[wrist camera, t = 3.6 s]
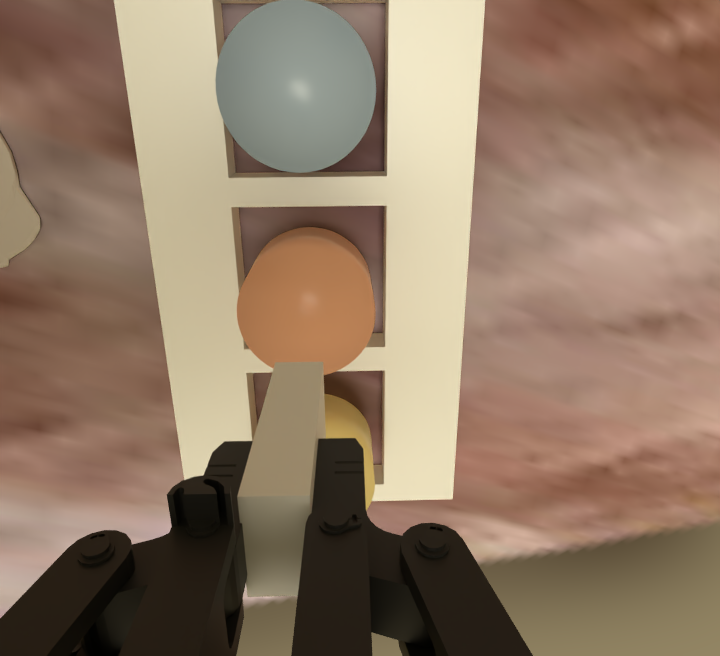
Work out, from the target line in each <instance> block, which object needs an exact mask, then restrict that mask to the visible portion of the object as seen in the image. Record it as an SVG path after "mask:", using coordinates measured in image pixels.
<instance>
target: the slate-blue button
mask: <svg viewBox="0 0 720 656" xmlns="http://www.w3.org/2000/svg"><path fill="white" fill-rule="evenodd" d="M215 82H216V96H217V102H218V106H219V109H220V113H221V116H222V118H223V120H224V123H225V125H226V127H227V128H228V130H229V132H230V134H231V135H232V136H233V138H234V139H235V141H236V142H237V143H238V144H239V145H240V146H241V147H242V148H243V150H245V151H246V152H247V153H248V154H249V155H250V156H252V157H253V158H255V159H256V160H258V161H259V162H261V163H263V164H265V165H267V166H269V167H271V168H274V169H277V170H281V171H286V172H294V173H304V172H313V171H317V170H321V169H324V168H326V167H329V166H331V165H333V164H335V163H337V162H338V161H340V160H341V159H343V158H344V157H345V156H347V155H348V154H349V153H350V152H351V151H352V150H353V149H354V148H355V147H356V145H357V144H358V143H359V142H360V140H361V139H362V137H363V136H364V134H365V132H366V130H367V128H368V126H369V124H370V121H371V118H372V115H373V112H374V106H375V100H376V79H375V73H374V67H373V64H372V61H371V58H370V55H369V53H368V51H367V48H366V46H365V44H364V43H363V41H362V39H361V38H360V36H359V35H358V33H357V32H356V31H355V30H354V28H353V27H352V26H351V25H350V24H349V23H348V22H347V21H346V20H345V19H344V18H342V17H341V16H340V15H338V14H337V13H335V12H334V11H332V10H330V9H329V8H327V7H325V6H322V5H320V4H317V3H314V2H310V1H305V0H279V1H275V2H271V3H268V4H266V5H263V6H261V7H259V8H257V9H255V10H254V11H252V12H250V13H249V14H248V15H247V16H245V17H244V18H243V19H242V20H241V21H240V22H239V23H238V24H237V25H236V26H235V27H234V29H233V30H232V31H231V33H230V34H229V36H228V37H227V39H226V41H225V43H224V45H223V47H222V50H221V53H220V56H219V59H218V64H217V68H216V79H215Z"/></svg>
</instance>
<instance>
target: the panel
mask: <svg viewBox="0 0 720 656" xmlns="http://www.w3.org/2000/svg"><path fill="white" fill-rule="evenodd" d="M275 1H279V0H114V5H115V11H116V18H117V25H118V32H119V39H120V45H121V52H122V59H123V66H124V73H125V79H126V86H127V93H128V100H129V107H130V114H131V120H132V127H133V134H134V141H135V148H136V154H137V161H138V168H139V175H140V182H141V188H142V195H143V202H144V209H145V216H146V222H147V229H148V236H149V243H150V250H151V256H152V263H153V270H154V277H155V284H156V290H157V297H158V304H159V311H160V318H161V324H162V331H163V338H164V345H165V352H166V358H167V365H168V372H169V379H170V386H171V392H172V399H173V406H174V413H175V420H176V426H177V433H178V440H179V447H180V454H181V460H182V467H183V474H184V480H186V479H189V478H191V477H195V476H203V475H204V472H205V470H206V467H207V465H208V462H209V460H210V457H211V455H212V452H213V451H214V450H216V449H217V448H218V447H219V446H220V445H221V444H222V443H223V442H224V441H253V439H254V436H255V432H256V429H257V415H256V403H255V391H254V380H253V373H270V372H273V368H271V367H270V366H268V365H266V364H265V363H264V362H262V361H261V360H260V359H259V358H258V357H257V356H256V355H255V354H254V353H253V352H252V351H251V350H250V348H249V347H248V346H247V344H246V342H245V341H244V339H243V337H242V334H241V332H240V329H239V326H238V320H237V301H238V296H239V292H240V290H241V287H242V285H243V283H244V281H245V275H244V263H243V251H242V240H241V228H240V216H239V207H305V206H384V257H383V333H372V335H371V338H370V340H369V342H368V344H367V345H366V347H365V348H364V350H363V351H362V353H361V354H360V355H359V356H358V357H357V358H356V359H355V360H353V361H352V362H351V363H350V364H348V365H347V366H345V367H344V368H342V369H340V370H338V371H378V370H383V376H382V465H373V467H374V479H375V490H374V495H373V498H372V501H394V500H437V499H453V485H454V469H455V454H456V439H457V423H458V408H459V393H460V377H461V362H462V347H463V331H464V316H465V301H466V285H467V270H468V255H469V239H470V224H471V209H472V194H473V178H474V163H475V148H476V132H477V117H478V102H479V86H480V71H481V56H482V40H483V25H484V10H485V0H305V1H310V2H314V3H386V18H385V137H384V171H360V172H304V173H294V172H266V173H236V170H235V158H234V146H233V136H232V135H231V134H230V132H229V130H228V128H227V127H226V125H225V123H224V120H223V118H222V116H221V113H220V109H219V106H218V102H217V96H216V82H215V79H216V68H217V64H218V59H219V56H220V53H221V50H222V47H223V45H224V43H225V41H224V30H223V18H222V6H221V4H229V3H271V2H275Z"/></svg>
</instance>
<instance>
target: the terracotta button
mask: <svg viewBox="0 0 720 656" xmlns="http://www.w3.org/2000/svg"><path fill="white" fill-rule="evenodd" d="M237 320H238V326H239V329H240V332H241V334H242V337H243V339H244V341H245V342H246V344H247V346H248V347H249V348H250V350H251V351H252V352H253V353H254V354H255V355H256V356H257V357H258V358H259V359H260V360H261V361H262V362H264V363H265V364H266V365H268V366H270V367H271V368H273V369H274V365H275V362H323V371H324V375H327V374H330V373H333V372H336V371H338V370H340V369H342V368H344V367H345V366H347V365H348V364H350V363H351V362H352V361H353V360H355V359H356V358H357V357H358V356H359V355H360V354H361V353H362V351H363V350H364V348H365V347H366V345H367V344H368V342H369V340H370V338H371V335H372V332H373V329H374V324H375V303H374V296H373V290H372V283H371V277H370V272H369V269H368V266H367V263H366V261H365V259H364V258H363V256H362V254H361V253H360V252H359V250H358V249H357V248H356V247H355V246H354V245H353V244H352V243H351V242H350V241H349V240H347V239H346V238H344V237H343V236H341V235H339V234H337V233H335V232H333V231H330V230H327V229H323V228H317V227H302V228H296V229H292V230H289V231H286V232H284V233H282V234H280V235H278V236H277V237H275V238H274V239H272V240H271V241H270V242H269V243H268V244H267V245H266V246H265V247H264V248H263V249H262V250H261V252H260V253H259V255H258V257H257V258H256V260H255V262H254V264H253V266H252V268H251V270H250V271H249V273H248V275H247V277H246V279H245V281H244V283H243V285H242V287H241V290H240V292H239V296H238V301H237Z"/></svg>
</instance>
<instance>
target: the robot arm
mask: <svg viewBox="0 0 720 656" xmlns="http://www.w3.org/2000/svg"><path fill="white" fill-rule="evenodd" d="M167 499H168V505H169V511H170V518H171V524H172V528H171V530H170V532H169V533H168V534H166V535H164V536H162V537H159V538H156V539H153V540H149V541H145V542H141V543H137V544H133V545H132V544H131V540H130V539H129V537H128V536H127V535H126V534H125V533H122V532H119V531H115V530H104V531H100V532H96V533H91V534H89V535H87V536H85V537H83V538H81V539H79V540H77V541H76V542H75V543H74V544H72V545H71V546H70V547H69V548H68V549H67V550H66V551H65V552H64V553H63V554H62V555H61V556H60V557H59V558H58V559H57V560H56V561H55V562H54V563H53V564H52V565H51V566H50V567H49V568H48V569H47V571H46V572H45V573H44V574H43V575H42V576H41V577H40V578H39V579H38V580H37V581H36V582H35V583H34V584H33V585H32V586H31V587H30V588H29V589H28V590H27V591H26V592H25V593H24V594H23V596H22V597H21V598H20V599H19V600H18V601H17V602H16V603H15V604H14V605H13V606H12V607H11V608H10V609H9V610H8V611H7V612H6V613H5V614H4V615H3V616H2V617H1V618H0V656H236V654H237V649H238V644H239V639H240V634H241V629H242V624H243V619H244V608H243V598H242V597H243V593H244V588H245V583H246V585H247V595H248V597H259V596H298V599H297V608H296V617H295V627H294V636H293V645H292V655H291V656H372V638H371V632H373V633H376V634H380V635H383V636H386V637H390V638H394V639H397V640H398V641H399V647H400V650H401V653H402V655H403V656H533V655H532V653H531V652H530V650H529V648H528V647H527V645H526V643H525V642H524V640H523V639H522V637H521V635H520V634H519V632H518V630H517V629H516V627H515V625H514V624H513V622H512V620H511V619H510V617H509V615H508V614H507V612H506V610H505V609H504V607H503V605H502V604H501V602H500V600H499V599H498V597H497V595H496V594H495V592H494V590H493V589H492V587H491V585H490V584H489V582H488V580H487V579H486V577H485V575H484V574H483V572H482V570H481V569H480V567H479V565H478V564H477V562H476V560H475V559H474V557H473V555H472V554H471V552H470V550H469V549H468V547H467V545H466V544H465V542H464V541H463V539H462V538H461V537H460V536H459V535H458V533H457V532H456V531H454V530H452V529H450V528H449V527H447V526H445V525H440V524H436V523H421V524H418V525H415V526H413V527H410V528H409V529H408V530H407V531H406V532H405V533H403V536H400V535H396V534H392V533H389V532H386V531H383V530H382V529H380V528H378V527H376V526H375V525H374V524H373V523H372V522H371V521H370V519H369V518H368V516H367V512H366V500H365V476H364V451H363V447H362V446H361V445H360V444H359V442H358V441H357V440H356V438H326V429H325V400H324V371H323V362H275V365H274V369H273V372H272V376H271V379H270V383H269V386H268V390H267V393H266V397H265V401H264V404H263V408H262V411H261V415H260V418H259V422H258V425H257V429H256V432H255V436H254V439H253V441H224V442H223V443H222V444H221V445H220V446H219V447H218V448H217V449H216V450H214V451H213V452H212V455H211V457H210V460H209V462H208V465H207V467H206V470H205V472H204V475H203V476H195V477H191V478H189V479H186V480H183V481H181V482H180V483H178V484H177V485H175V486H174V487H172V489H171V490H170V491H169V493H168V494H167Z"/></svg>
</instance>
